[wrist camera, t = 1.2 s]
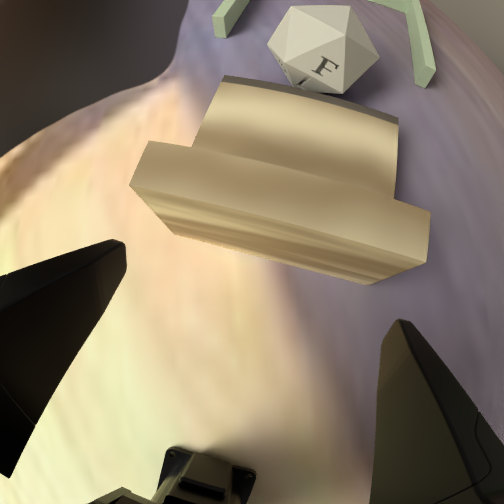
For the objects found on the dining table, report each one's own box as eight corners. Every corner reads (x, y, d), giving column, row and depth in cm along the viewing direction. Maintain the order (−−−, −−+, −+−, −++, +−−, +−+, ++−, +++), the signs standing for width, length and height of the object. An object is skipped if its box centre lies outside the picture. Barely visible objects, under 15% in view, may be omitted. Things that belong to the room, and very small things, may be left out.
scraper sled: (366, 285, 20) (426, 262, 12) (174, 234, 22) (129, 185, 13) (386, 137, 23) (425, 72, 15) (227, 98, 24) (217, 22, 16)
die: (249, 76, 25) (266, 55, 17) (285, 8, 23) (315, -32, 14) (324, 113, 28) (370, 112, 19) (356, 46, 25) (407, 26, 16)
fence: (425, 88, 24) (436, 70, 21) (215, 37, 26) (212, 16, 23) (412, 12, 28) (418, -2, 25) (258, -24, 30) (258, -40, 27)
